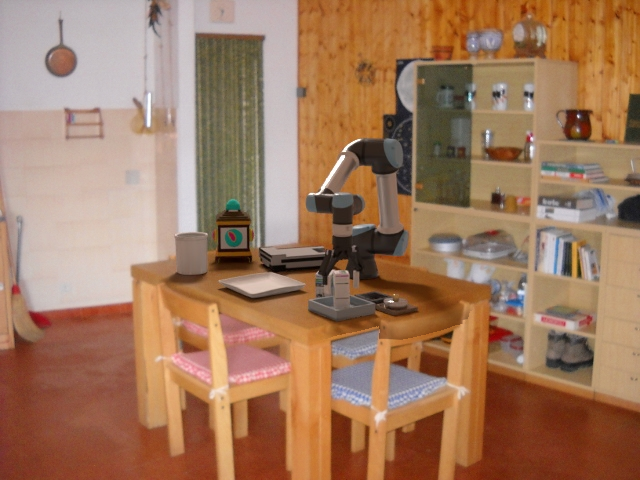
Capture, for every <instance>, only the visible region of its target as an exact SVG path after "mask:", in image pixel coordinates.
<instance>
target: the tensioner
mask: <svg viewBox="0 0 640 480" xmlns="http://www.w3.org/2000/svg"><path fill="white" fill-rule="evenodd" d="M353 296H355V297H358V298H361V299H364V300H367V301H370V302H373V303H375V310H376V309H377V310H376V311H379V310H380V311H379V312H382V311H383V312H382V313H385V314H388V315H391V316H393V317H394V316H400V315H405V314H409V313H415V312H418V311H419V306H415V305H414V304H413V305H412V304H410V303H409V301H408V300H407V298H401V297H400V294H398V293H393V294H392V295H389V294H386V293H383V292H380V291H377V290H374V291H368V292H364V293H358V294H354V295H353ZM373 298H377V299H373Z"/></svg>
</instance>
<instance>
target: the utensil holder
mask: <svg viewBox="0 0 640 480" xmlns="http://www.w3.org/2000/svg"><path fill="white" fill-rule="evenodd" d="M208 236H209V234H208V233H207V232H201V231H186V232H185V231H184V232H177V233H175V234H174V239H175V258H176V259H175V262H176V273H177V274H180V275H183V276H184V275H185V276H197V275H202V274H206V273H207V272H208Z"/></svg>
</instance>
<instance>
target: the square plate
mask: <svg viewBox="0 0 640 480" xmlns="http://www.w3.org/2000/svg"><path fill="white" fill-rule="evenodd" d="M217 282H218V283H219V284H220V285H222V287H225V288H228V289H230V290H232V291H234V292H237V293H239V294H241V295H244V296H246V297H249V298H251V299H257V298H264V297H269V296H274V295H275V296H276V295H281V294H287V293H291V292H296V291H299V290H301V289H303V288H304V287H305V286H306V285H307V284H306V283H304V282H302V281H299V280H297V279H294V278H291V277H289V276H285V275H281V274H278V273H277V272H272V271H268V272H260V273H258V272H257V273H251V274H245V275H240V276H235V277H234V276H233V277H229V278H223V279H219V280H218V281H217Z"/></svg>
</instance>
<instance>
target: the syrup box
mask: <svg viewBox="0 0 640 480" xmlns="http://www.w3.org/2000/svg"><path fill="white" fill-rule="evenodd" d="M350 279H351V278H350V274H349V272H348V271H347V270H345V269H340V270H339V269H338V270H335V271H333V297H334V298H333V300H334V309H336V310H339V309H344V308H349V307H350V295H351V294H350V292H351V291H350V288H351V287H350V284H351V283H350Z"/></svg>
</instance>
